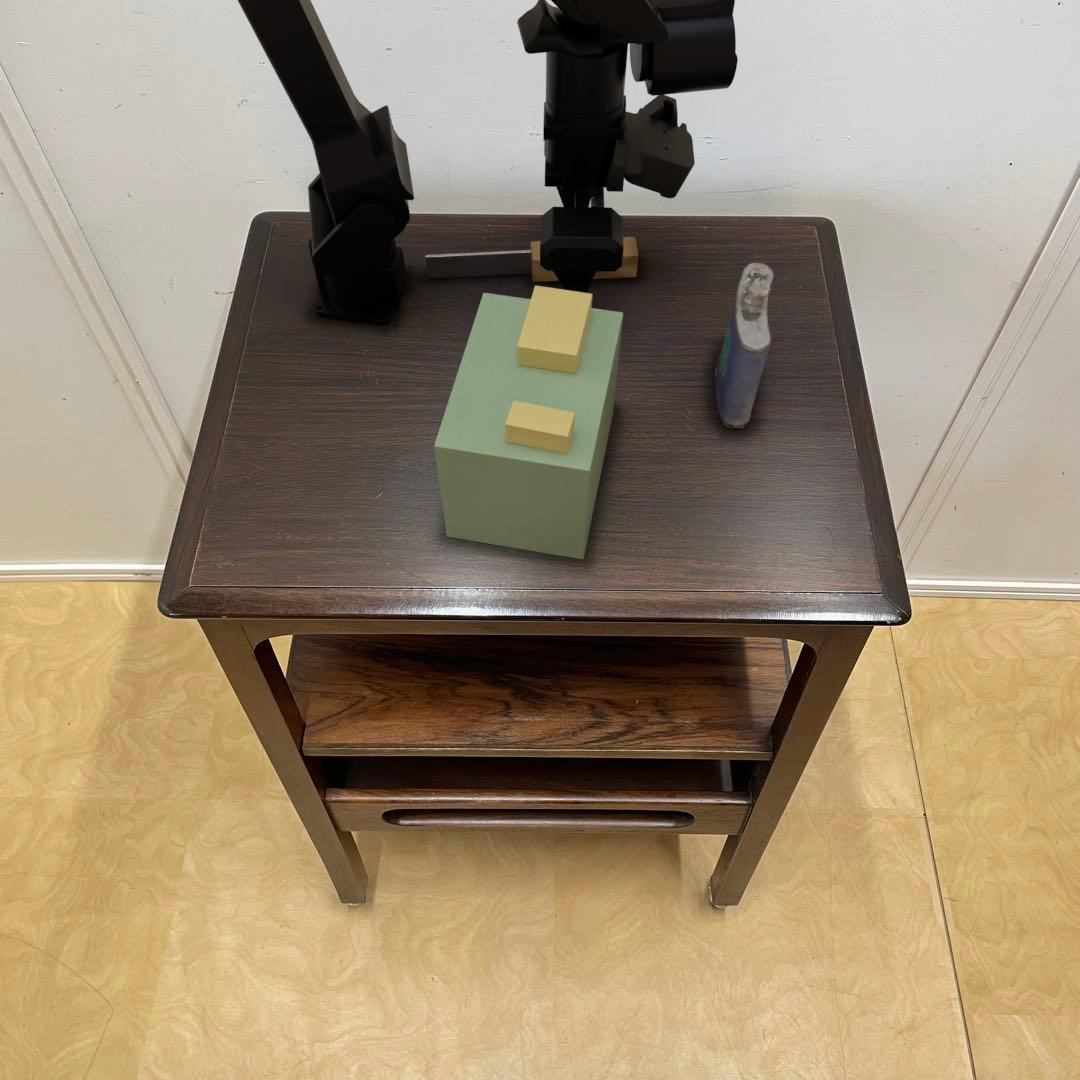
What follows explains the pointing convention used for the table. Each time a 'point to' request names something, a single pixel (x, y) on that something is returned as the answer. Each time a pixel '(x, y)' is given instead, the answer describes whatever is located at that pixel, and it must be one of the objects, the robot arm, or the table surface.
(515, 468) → the stand
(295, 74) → the robot arm
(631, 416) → the table surface
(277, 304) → the table surface
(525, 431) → the butter pat
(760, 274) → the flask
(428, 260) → the knife
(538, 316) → the butter stick
